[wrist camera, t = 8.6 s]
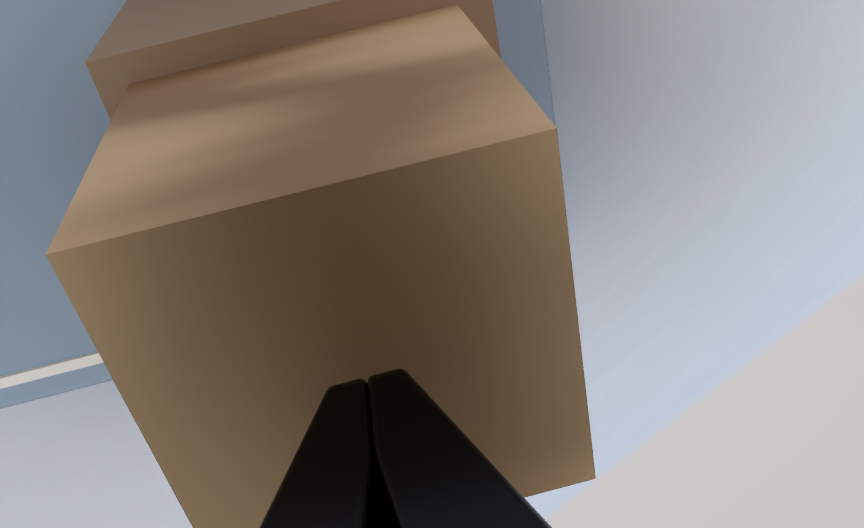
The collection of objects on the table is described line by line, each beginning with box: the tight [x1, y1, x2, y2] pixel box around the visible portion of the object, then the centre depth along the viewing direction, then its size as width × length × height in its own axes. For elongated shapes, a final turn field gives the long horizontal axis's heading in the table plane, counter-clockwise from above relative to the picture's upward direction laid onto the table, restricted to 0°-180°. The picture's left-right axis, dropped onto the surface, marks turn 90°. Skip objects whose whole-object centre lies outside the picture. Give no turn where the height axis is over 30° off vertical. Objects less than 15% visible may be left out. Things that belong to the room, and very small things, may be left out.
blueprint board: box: [0, 0, 555, 409], centre depth 16 cm, size 16×12×6 cm
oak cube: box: [46, 5, 596, 528], centre depth 11 cm, size 5×5×5 cm
